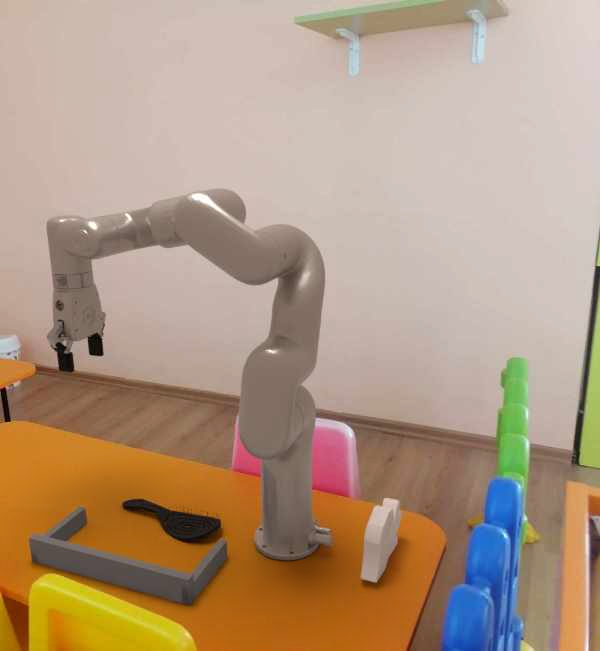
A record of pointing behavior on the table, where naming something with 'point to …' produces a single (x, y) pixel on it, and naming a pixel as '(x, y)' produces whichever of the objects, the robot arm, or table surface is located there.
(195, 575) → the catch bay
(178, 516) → the hairbrush
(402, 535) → the table surface
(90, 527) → the table surface
